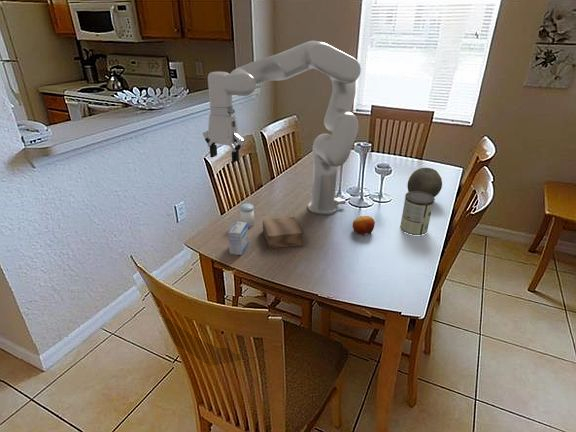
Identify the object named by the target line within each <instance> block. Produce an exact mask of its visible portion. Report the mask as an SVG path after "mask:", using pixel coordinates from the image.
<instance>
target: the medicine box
mask: <svg viewBox="0 0 576 432" xmlns="http://www.w3.org/2000/svg"><path fill="white" fill-rule="evenodd" d="M227 234H228V247H229V254H231V255H237V256H238V255H239V256H242V255H243V254H244V252H245V251H246V249H247V246H248V245H249V228H248V223H245V222H241V221H235V222H234V224H233V225H232V226H231V228H230V230H229V231H228V233H227Z"/></svg>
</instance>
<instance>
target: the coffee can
mask: <svg viewBox="0 0 576 432" xmlns="http://www.w3.org/2000/svg"><path fill="white" fill-rule="evenodd" d="M404 197H405V198H404V203H403V209H402V215H401V221H400V225H399V229H400V228H401V230H402V231H403V232H402V231H401V230H400V231H401V232H402V233H404V232H406V233H408V234H412V235H422V234H425V233H426V232H427V233H428V230H429V225H430V222H431V221H430V220H431V216H432V211H433V207H434V203H435V200H436V199H435V197H433V196H432V195H430V194H428V193H425V192H421V191H411V192H408V191H407V192H406V193H405V196H404ZM408 234H407V235H408ZM425 235H426V234H425Z"/></svg>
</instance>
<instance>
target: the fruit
mask: <svg viewBox="0 0 576 432" xmlns="http://www.w3.org/2000/svg"><path fill="white" fill-rule="evenodd" d="M375 224H376V222H375V220H374V218H373V217H372V216H370V215H364V216H357V217H356V218H355V219H354V220H353V222H352V229H353V231H354V232H355V234H357V235H360V236H362V237H364V236H365V235H371V236H373V234H372V233H373V231H374V229H375Z"/></svg>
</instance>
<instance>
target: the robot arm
mask: <svg viewBox="0 0 576 432" xmlns="http://www.w3.org/2000/svg"><path fill="white" fill-rule="evenodd" d="M313 69H314V70H316V71H319V72H320V73H322V74H324V75H327V76H328V78H329V79H330V81H331V86H332V91H331V92H332V93H331V96H330V100H329V103H328V106H327V110H326V112H325V115H324V119H323V125H324V127H325V129H326V130H328V131H330V132H331V134H330V133H321V134H319V135H318V136H316V138H315V139H314V141H313V143H312V158H313V159H312V160H313V170H312V171H313V173H312V189H311V201H310V202H308V203H307V209H308V211H310V212H311V213H313V214H315V215H323V216H324V215H325V216H326V215H332V214H334V213H336V212H337V211H338V208H339V207H338V206H339V205H344V204H346V199H342V198H341V197H337V198H336V197H335V196H336V189H337V188H336V186H337V175H338V167H341V166H342V165H344V164H345V163H346V161H348V159H349V156H350V153H351V151H352V149H353V147H354V146H353V145H354V144H355V140H356V138H357V134H358V131H359V121H358V118H357V116H356V115H355V114H354V113H353V112H351V111H352V108H353V104H354V101H355V97H356V89H357V87H356V81H357V80H358V79H359V77H360V75H361V72H362V71H361V70H362V69H361V64H360V63H359V61H358V60H357V59H356V58H355V57H353V56H351V55H349V54H347V53H345V52H344V51H342V50H339V49H338V48H336V47H334V46H332V45H330V44H328V43H327V42H324V41H317V40H310V41H306V42H304V43H301V44H298V45H296V46H294V47H291V48H289V49H287V50H284V51H282V52H279V53H276V54H273V55H269V56H267V57H264V58H261V59H258V60H254V61H251V62H249V63H246V64H244V65H242V66H239V67H236V68H235V69H233V70H232V71H231V72H230V73H229V72H226V71H211V72H209V73H208V75H207V86H208V98H209V111H210V114H209V116H208V130H206V131H204V132H202V135H203V137H204V141H205V142H206V144H207V147H209V157H210V158H215V157H217V156H218V148H217V144H219V145H223V146H224V145H225V146H229V147H230V149H231V163H237V162H238V161H239V160H240V154H239V153H240V150H241V149H242V147H243V145H244V143H245V139H244V138H243V137H242V136H240V135H239V128H238V122H237V121H238V120H237V118H236V116H235V113H236V110H235V108H233V107H234V106H233V96H237V97H238V96H239V97H248V96H251V95H252V94H253V93H255V91H256V89H257V85H258V84H261V83H264V82H269V81H271V82H272V81H285V80H288V79H290V78H292V77H293V78H294V77H295V76H296V75H299V74H302V73H305V72H306V71H309V70H313Z"/></svg>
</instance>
